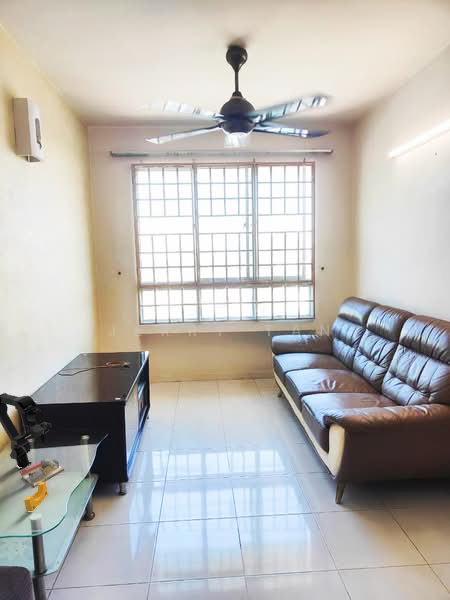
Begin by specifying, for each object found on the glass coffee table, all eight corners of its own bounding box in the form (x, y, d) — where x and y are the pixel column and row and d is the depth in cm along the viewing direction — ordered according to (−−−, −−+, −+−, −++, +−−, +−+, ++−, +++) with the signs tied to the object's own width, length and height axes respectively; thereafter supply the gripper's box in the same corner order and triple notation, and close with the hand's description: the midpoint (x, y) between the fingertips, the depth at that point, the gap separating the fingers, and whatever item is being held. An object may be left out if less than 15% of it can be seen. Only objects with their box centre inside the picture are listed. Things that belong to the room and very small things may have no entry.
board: (22, 477, 196) (21, 475, 195) (50, 462, 207) (50, 460, 206) (34, 486, 185) (34, 485, 185) (64, 470, 196) (63, 468, 196)
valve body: (28, 480, 191) (26, 472, 190) (55, 465, 201) (53, 457, 200) (33, 483, 187) (31, 475, 186) (60, 468, 197) (58, 460, 196)
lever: (22, 477, 185) (21, 473, 185) (20, 474, 188) (19, 470, 188) (51, 463, 194) (50, 459, 194) (48, 461, 197) (47, 457, 197)
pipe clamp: (39, 494, 178) (36, 482, 177) (48, 494, 177) (45, 481, 176) (23, 513, 166) (20, 500, 165) (32, 512, 166) (29, 499, 165)
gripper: (19, 431, 185) (27, 460, 187) (53, 414, 200) (60, 441, 202) (7, 428, 191) (15, 457, 193) (42, 411, 206) (48, 438, 208)
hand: (35, 448), depth 199 cm, fingers open, 9 cm apart
